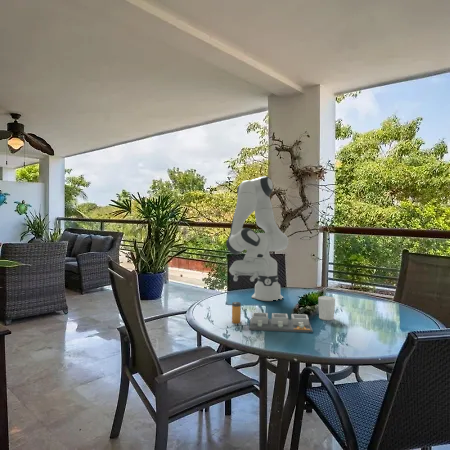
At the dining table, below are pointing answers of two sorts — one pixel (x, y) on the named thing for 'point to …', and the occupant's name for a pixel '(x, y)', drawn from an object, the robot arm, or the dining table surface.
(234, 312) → the orange capped bottle
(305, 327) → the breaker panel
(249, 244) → the robot arm
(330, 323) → the dining table surface
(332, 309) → the white cup
